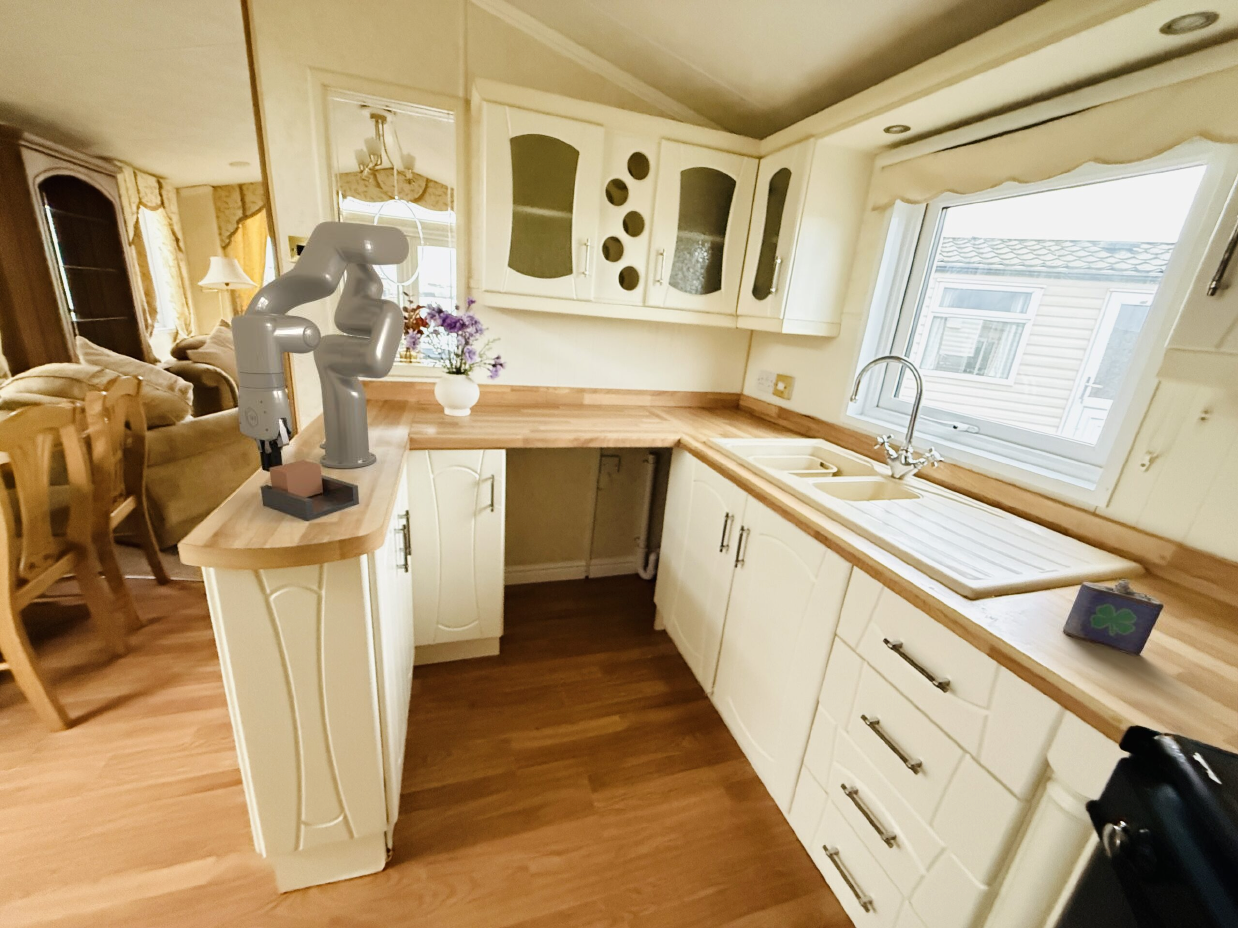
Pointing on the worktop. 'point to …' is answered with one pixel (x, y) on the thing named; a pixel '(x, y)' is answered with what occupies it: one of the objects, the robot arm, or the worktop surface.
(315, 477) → the block
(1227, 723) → the worktop surface
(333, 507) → the chute
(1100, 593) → the flask
